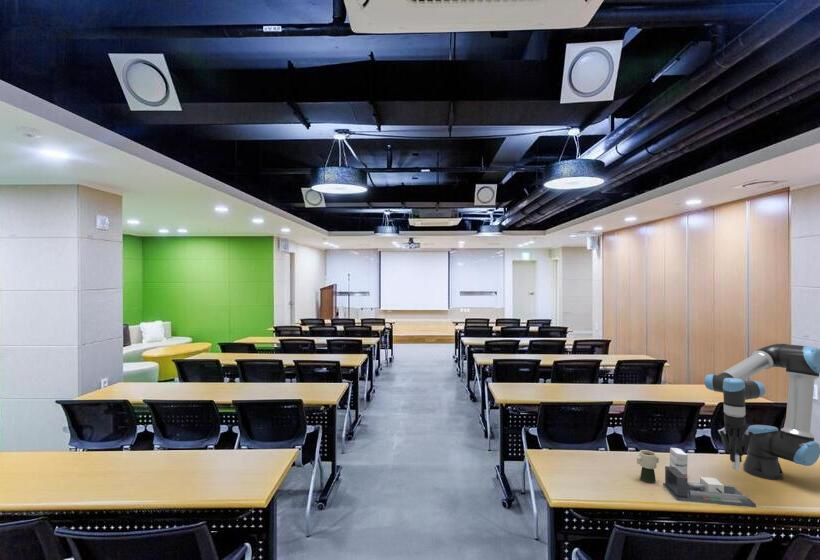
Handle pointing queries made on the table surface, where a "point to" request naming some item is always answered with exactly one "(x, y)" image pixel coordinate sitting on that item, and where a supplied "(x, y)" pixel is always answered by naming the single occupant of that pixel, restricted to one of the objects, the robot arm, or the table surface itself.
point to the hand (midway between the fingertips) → (736, 469)
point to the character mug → (647, 464)
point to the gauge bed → (682, 492)
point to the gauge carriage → (709, 485)
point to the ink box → (678, 460)
